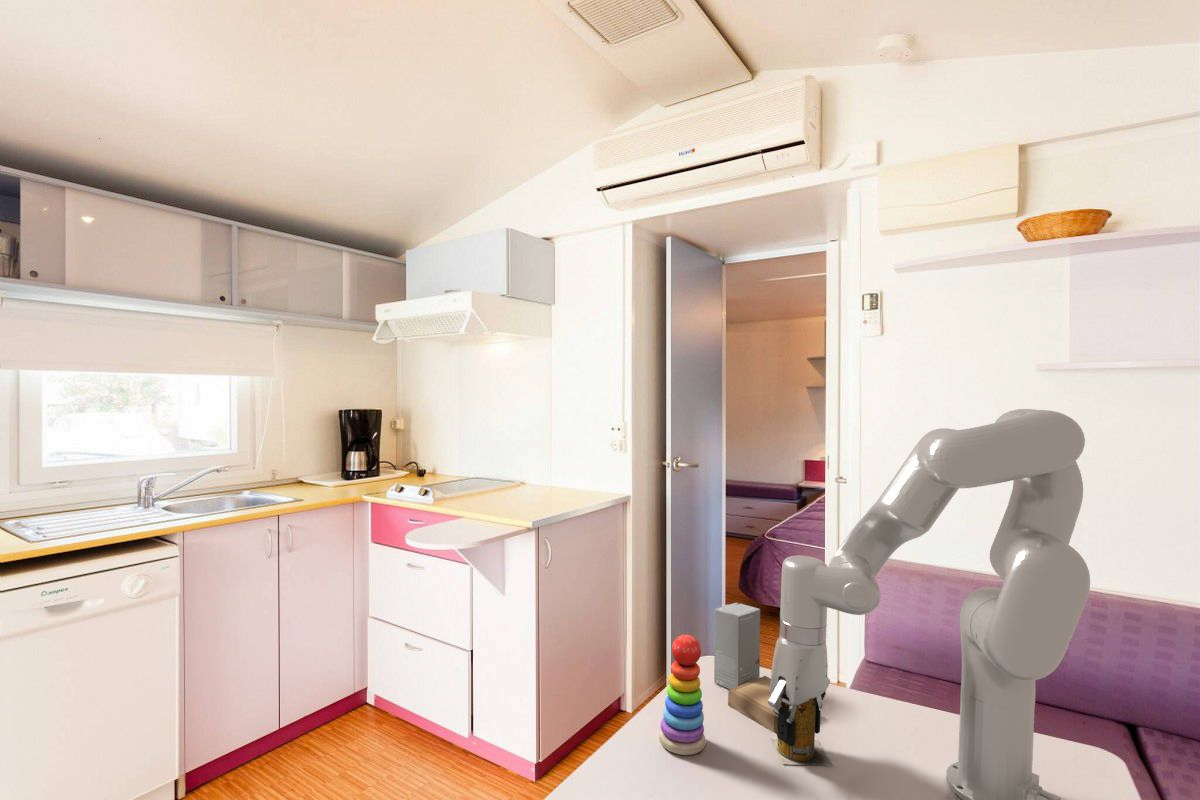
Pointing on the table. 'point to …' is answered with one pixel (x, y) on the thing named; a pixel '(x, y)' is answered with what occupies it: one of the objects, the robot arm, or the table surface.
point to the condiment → (802, 739)
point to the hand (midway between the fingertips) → (798, 734)
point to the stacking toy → (684, 701)
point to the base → (754, 702)
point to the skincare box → (736, 645)
